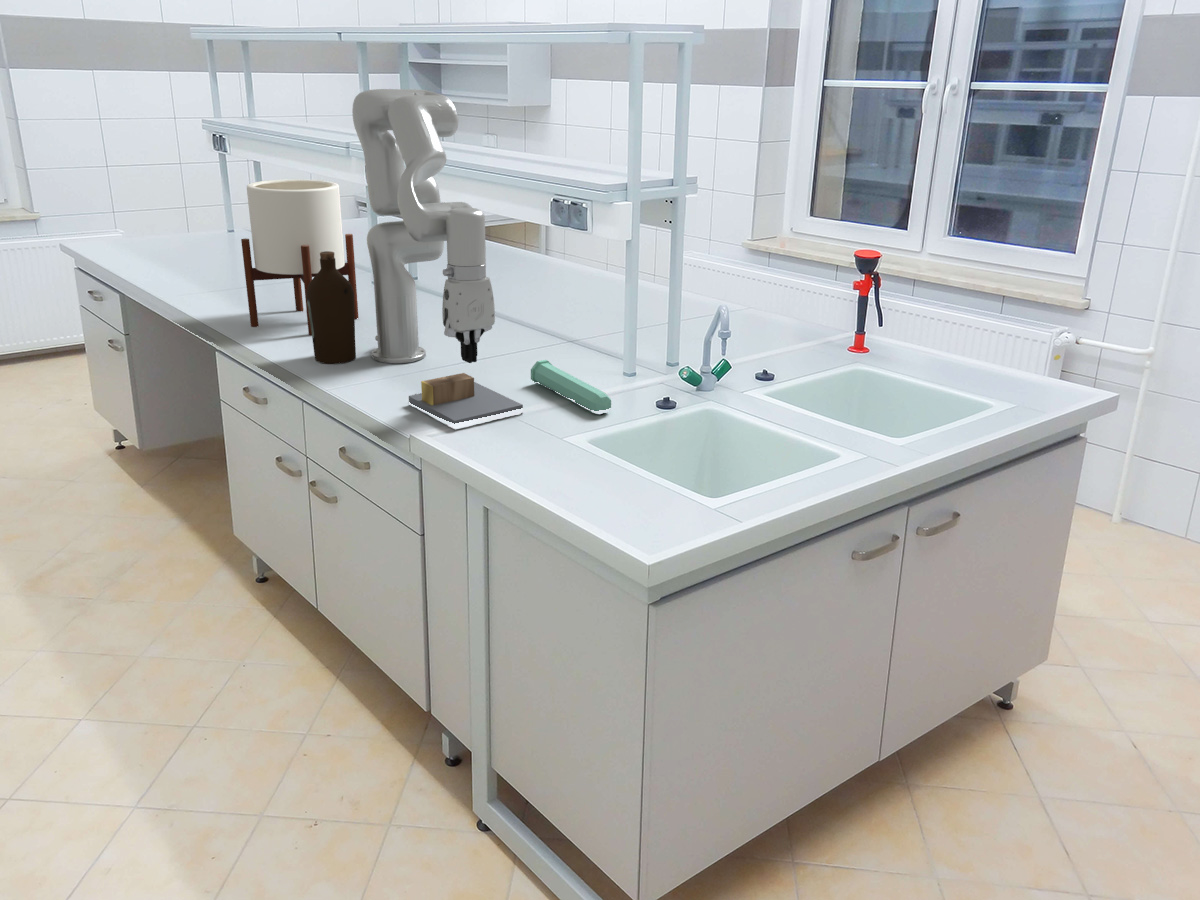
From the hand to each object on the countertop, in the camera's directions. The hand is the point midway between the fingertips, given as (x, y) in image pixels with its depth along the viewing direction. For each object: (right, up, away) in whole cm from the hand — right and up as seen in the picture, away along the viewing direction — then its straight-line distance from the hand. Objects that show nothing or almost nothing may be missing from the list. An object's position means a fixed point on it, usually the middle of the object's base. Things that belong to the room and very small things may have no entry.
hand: (469, 360), depth 200 cm
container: (+21, -8, +8) cm, 23 cm away
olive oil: (-36, +3, +30) cm, 47 cm away
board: (-1, -10, 0) cm, 10 cm away
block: (0, -5, +2) cm, 5 cm away
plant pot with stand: (-52, +16, +60) cm, 81 cm away
